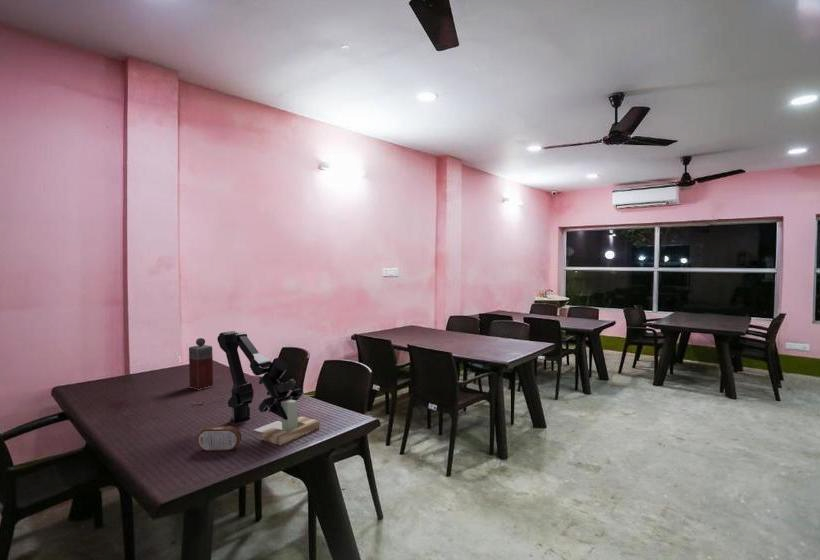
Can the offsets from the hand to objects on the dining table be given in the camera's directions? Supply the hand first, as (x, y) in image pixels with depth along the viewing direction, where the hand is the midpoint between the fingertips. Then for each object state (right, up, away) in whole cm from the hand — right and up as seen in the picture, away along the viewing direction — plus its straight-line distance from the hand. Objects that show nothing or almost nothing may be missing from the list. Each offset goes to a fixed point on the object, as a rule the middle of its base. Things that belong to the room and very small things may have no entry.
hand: (292, 417), depth 164 cm
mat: (-9, -7, +6) cm, 13 cm away
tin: (-23, -7, -14) cm, 28 cm away
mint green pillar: (-1, -7, +1) cm, 7 cm away
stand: (-1, -7, +1) cm, 7 cm away
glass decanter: (-72, -7, +71) cm, 101 cm away
